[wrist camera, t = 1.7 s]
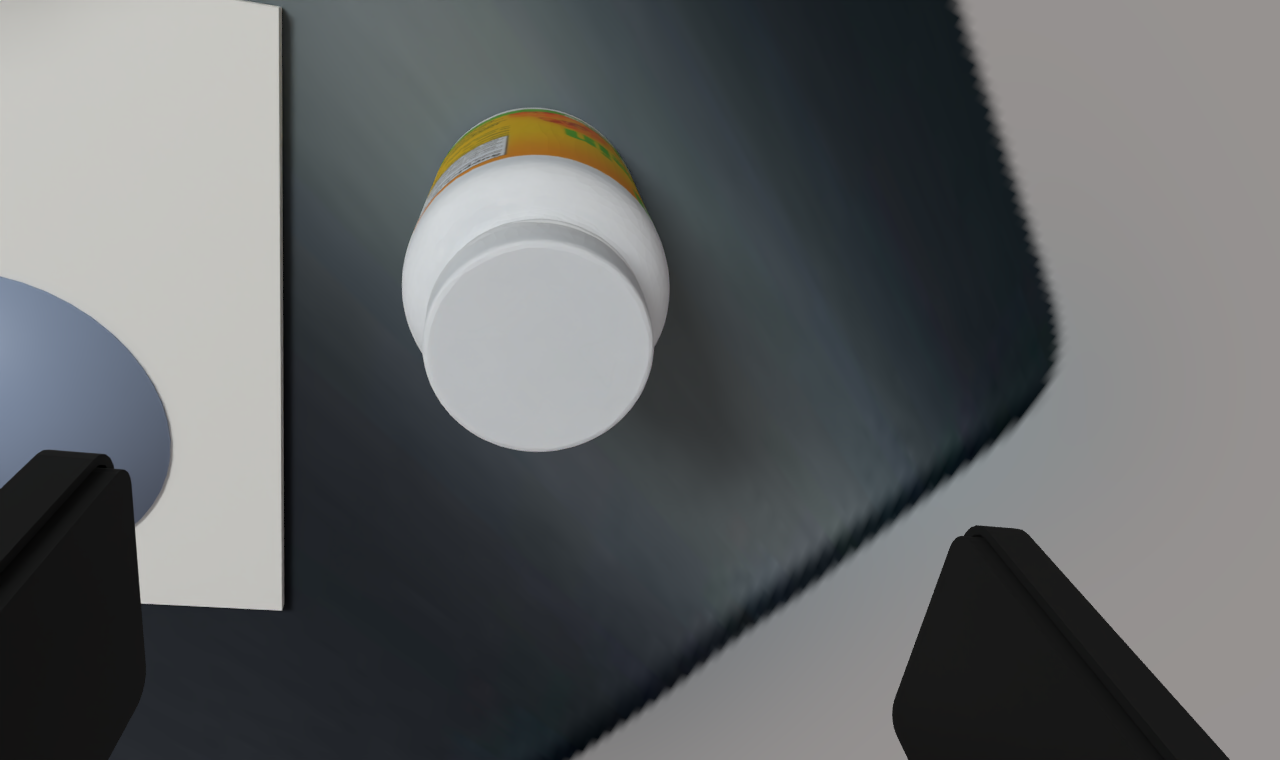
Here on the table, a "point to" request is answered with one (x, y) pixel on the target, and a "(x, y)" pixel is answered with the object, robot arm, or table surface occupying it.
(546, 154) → the supplement bottle
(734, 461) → the table surface
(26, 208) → the paper sheet
